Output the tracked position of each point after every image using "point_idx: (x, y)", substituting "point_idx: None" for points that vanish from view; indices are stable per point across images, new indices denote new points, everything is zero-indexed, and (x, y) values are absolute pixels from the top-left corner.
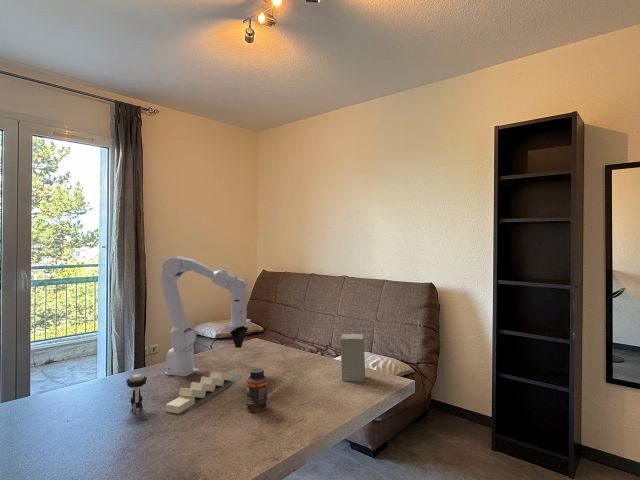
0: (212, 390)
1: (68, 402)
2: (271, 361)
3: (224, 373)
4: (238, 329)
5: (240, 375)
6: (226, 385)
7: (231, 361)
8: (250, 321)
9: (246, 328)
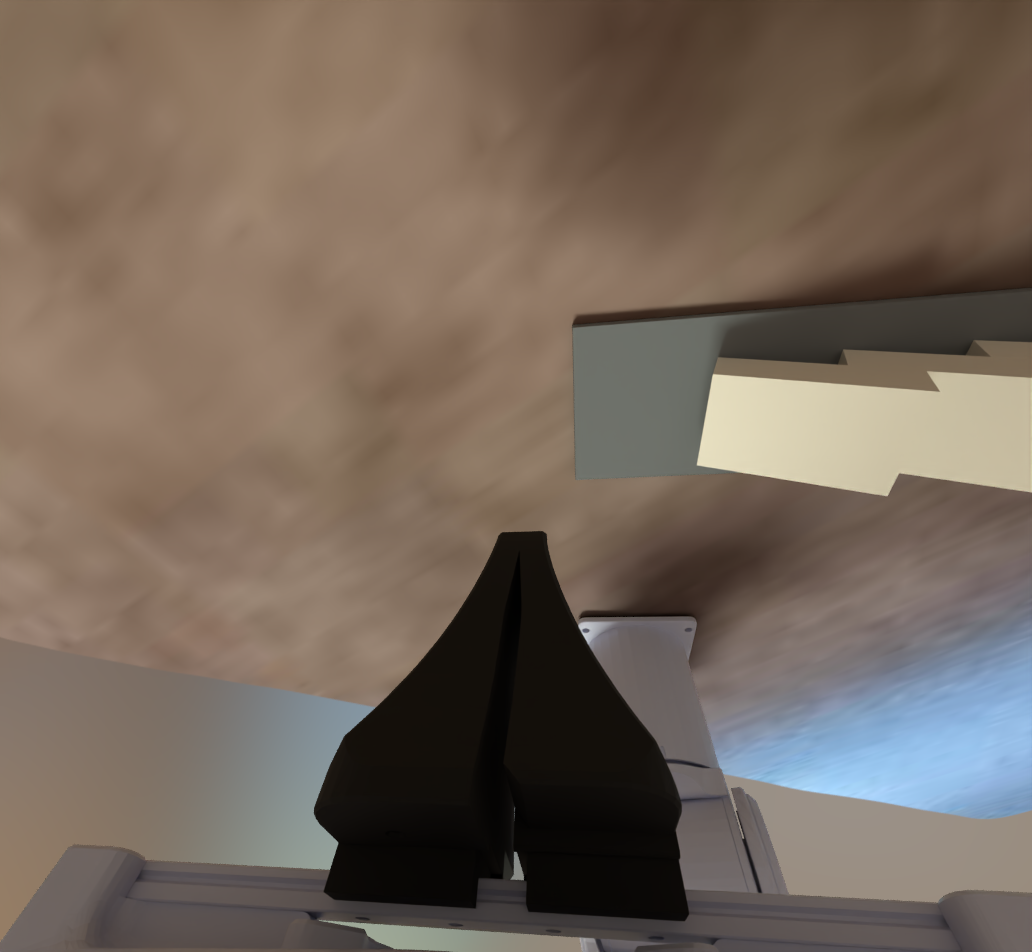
0: (1009, 343)
1: (1010, 748)
2: (152, 334)
3: (881, 387)
4: (619, 854)
5: (584, 361)
6: (829, 329)
7: (365, 564)
8: (8, 940)
9: (413, 796)
